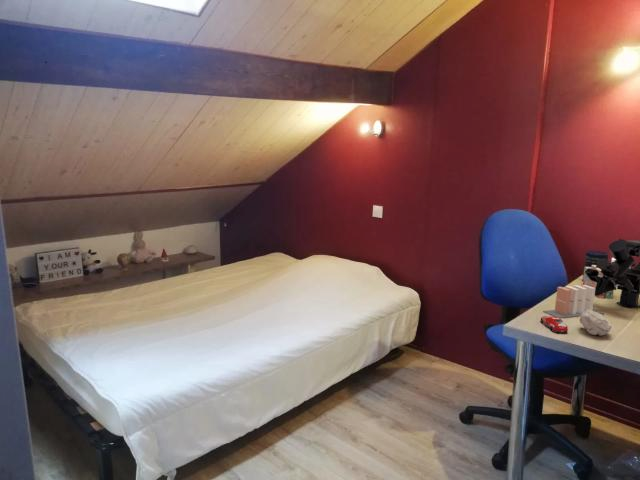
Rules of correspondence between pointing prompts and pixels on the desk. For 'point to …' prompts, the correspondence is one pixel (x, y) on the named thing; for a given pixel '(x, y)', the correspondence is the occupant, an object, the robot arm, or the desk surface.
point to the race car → (554, 324)
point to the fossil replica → (594, 323)
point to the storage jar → (595, 258)
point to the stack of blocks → (593, 284)
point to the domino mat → (556, 314)
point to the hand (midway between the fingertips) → (594, 295)
